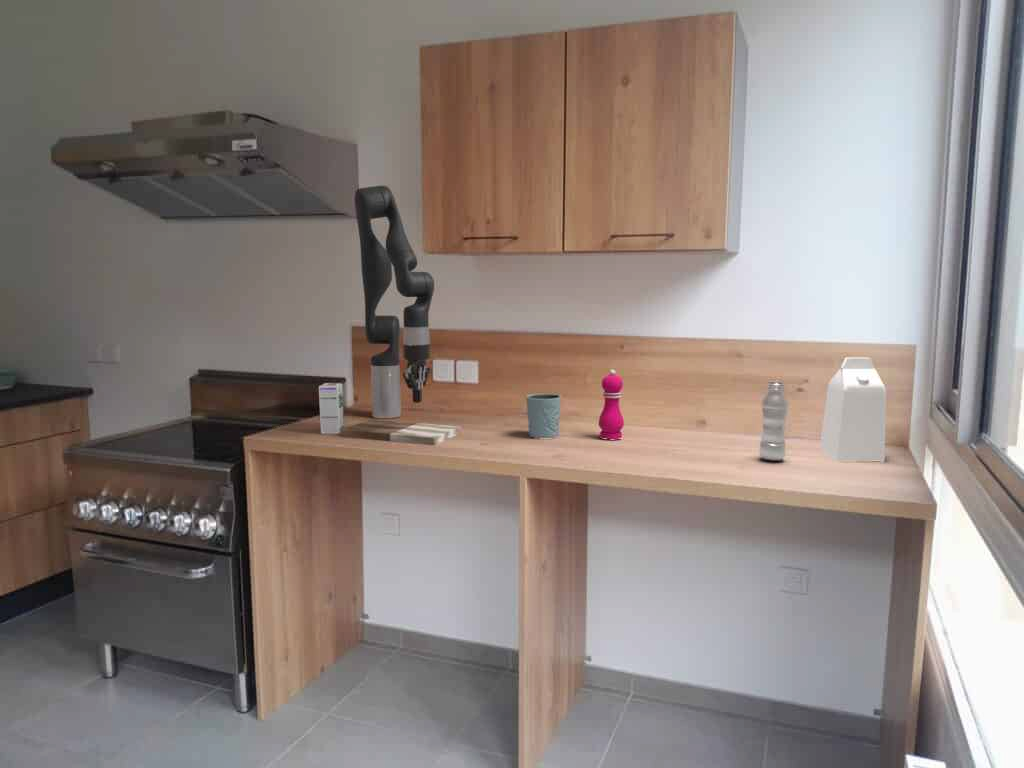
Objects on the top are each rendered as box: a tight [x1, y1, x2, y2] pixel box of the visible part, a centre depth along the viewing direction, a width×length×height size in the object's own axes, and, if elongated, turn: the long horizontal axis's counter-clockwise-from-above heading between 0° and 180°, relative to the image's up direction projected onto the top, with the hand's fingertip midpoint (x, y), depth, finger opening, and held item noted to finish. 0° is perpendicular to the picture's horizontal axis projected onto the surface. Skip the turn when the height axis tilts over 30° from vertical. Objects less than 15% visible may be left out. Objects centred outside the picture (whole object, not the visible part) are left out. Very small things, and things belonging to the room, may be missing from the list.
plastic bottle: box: [758, 381, 790, 462], centre depth 191 cm, size 6×7×20 cm
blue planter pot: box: [525, 392, 562, 439], centre depth 219 cm, size 10×10×12 cm
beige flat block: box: [390, 422, 461, 446], centre depth 218 cm, size 17×14×2 cm
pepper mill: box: [598, 369, 625, 439], centre depth 216 cm, size 7×7×20 cm
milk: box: [819, 357, 887, 461], centre depth 195 cm, size 12×12×26 cm
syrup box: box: [318, 382, 345, 435], centre depth 223 cm, size 6×6×14 cm
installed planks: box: [340, 418, 417, 442], centre depth 223 cm, size 17×16×2 cm
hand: (417, 402), depth 218 cm, fingers closed
